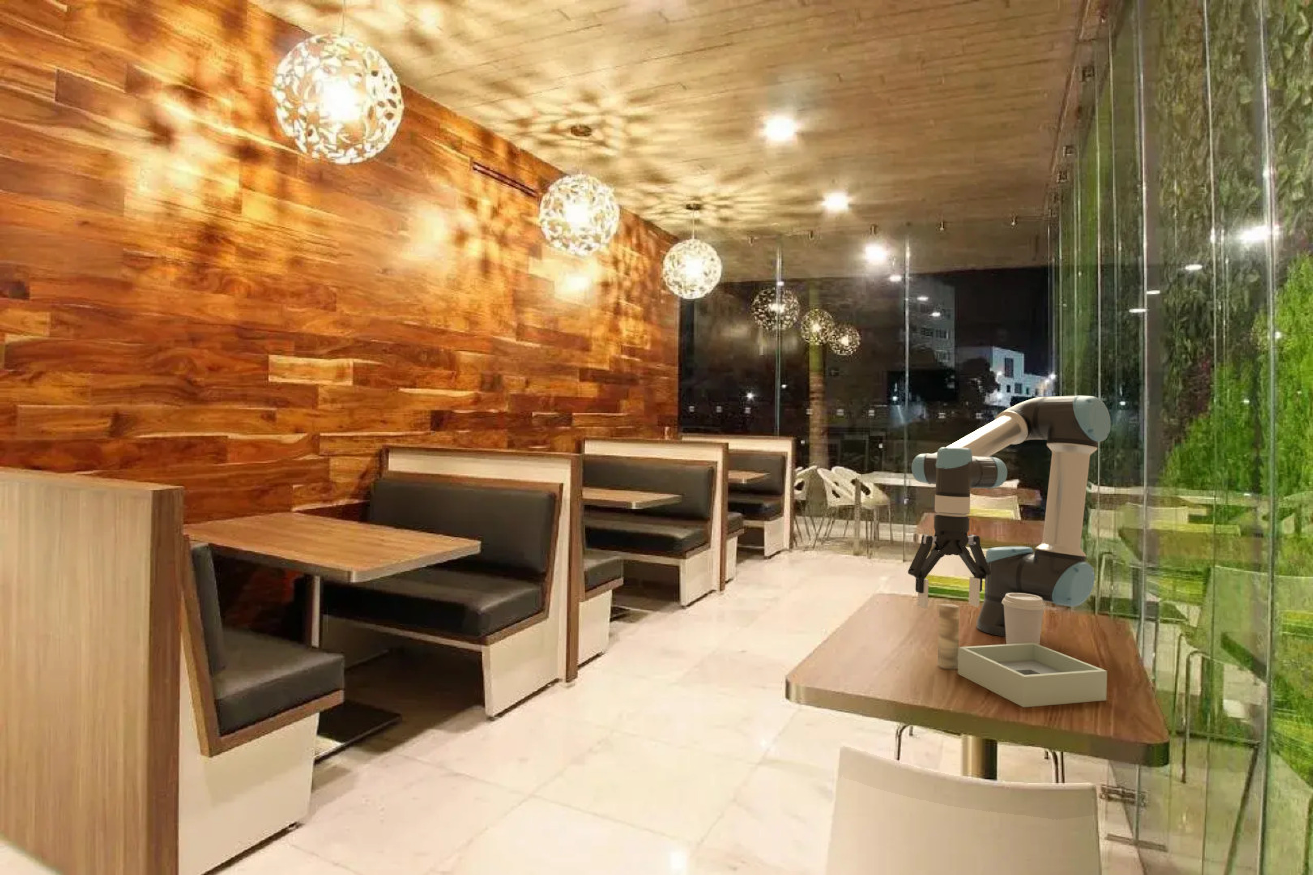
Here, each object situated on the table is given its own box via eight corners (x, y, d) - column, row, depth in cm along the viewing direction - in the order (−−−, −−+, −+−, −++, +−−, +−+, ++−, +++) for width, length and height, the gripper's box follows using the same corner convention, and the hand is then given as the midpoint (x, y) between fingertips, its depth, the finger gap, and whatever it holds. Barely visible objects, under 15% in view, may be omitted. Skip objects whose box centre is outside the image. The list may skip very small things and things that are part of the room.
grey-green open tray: (1033, 668, 169) (1033, 642, 169) (1106, 700, 149) (1107, 670, 149) (957, 673, 164) (958, 647, 164) (1023, 707, 144) (1024, 676, 144)
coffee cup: (1040, 655, 179) (1042, 594, 179) (1047, 667, 170) (1049, 602, 170) (997, 650, 182) (999, 590, 182) (1002, 661, 173) (1004, 598, 173)
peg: (949, 662, 172) (951, 603, 171) (962, 669, 167) (963, 607, 167) (933, 664, 170) (935, 604, 170) (945, 670, 166) (947, 608, 166)
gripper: (987, 512, 175) (983, 601, 175) (894, 512, 169) (891, 603, 169) (1009, 516, 168) (1006, 608, 168) (913, 515, 162) (910, 611, 162)
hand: (948, 606), depth 169 cm, fingers open, 13 cm apart
